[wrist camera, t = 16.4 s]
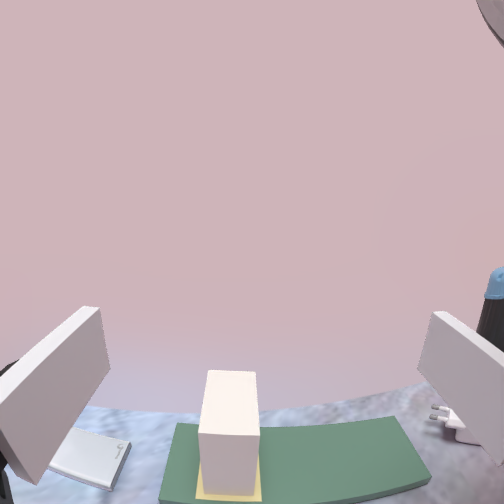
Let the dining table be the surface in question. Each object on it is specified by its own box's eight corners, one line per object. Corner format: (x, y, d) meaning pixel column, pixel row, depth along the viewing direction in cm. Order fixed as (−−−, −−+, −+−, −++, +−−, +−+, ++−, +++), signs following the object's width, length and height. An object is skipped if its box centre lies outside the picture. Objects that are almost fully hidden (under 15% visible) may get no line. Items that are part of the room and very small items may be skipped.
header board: (391, 423, 36) (402, 394, 35) (427, 483, 23) (445, 455, 22) (178, 430, 35) (174, 400, 33) (160, 505, 22) (151, 478, 21)
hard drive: (130, 440, 30) (50, 417, 30) (110, 487, 22) (23, 453, 22) (132, 448, 30) (54, 426, 30) (113, 494, 22) (27, 461, 22)
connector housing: (250, 434, 33) (255, 371, 31) (253, 495, 23) (260, 435, 21) (210, 432, 33) (208, 369, 31) (203, 493, 23) (197, 432, 21)
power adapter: (420, 438, 31) (434, 407, 30) (425, 418, 35) (437, 388, 34) (485, 449, 25) (503, 419, 24) (485, 430, 29) (501, 400, 28)
